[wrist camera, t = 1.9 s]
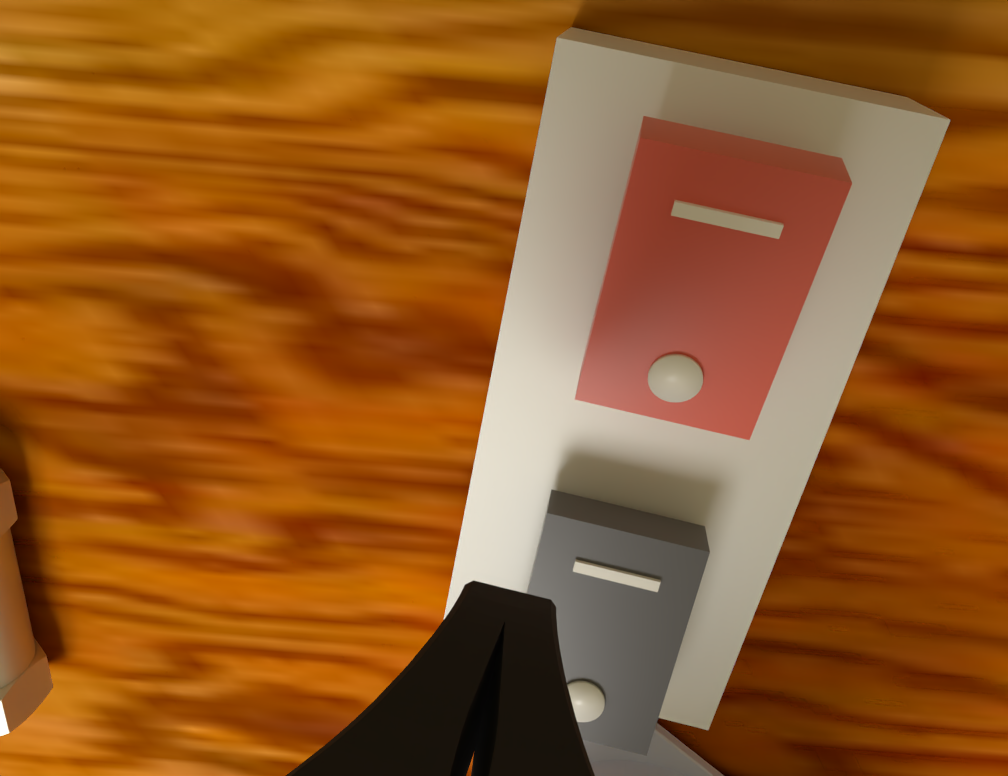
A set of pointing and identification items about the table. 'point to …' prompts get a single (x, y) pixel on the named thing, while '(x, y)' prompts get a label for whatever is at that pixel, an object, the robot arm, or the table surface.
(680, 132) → the red rocker
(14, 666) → the pipe fitting
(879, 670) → the table surface
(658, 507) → the rocker switch panel
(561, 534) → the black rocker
